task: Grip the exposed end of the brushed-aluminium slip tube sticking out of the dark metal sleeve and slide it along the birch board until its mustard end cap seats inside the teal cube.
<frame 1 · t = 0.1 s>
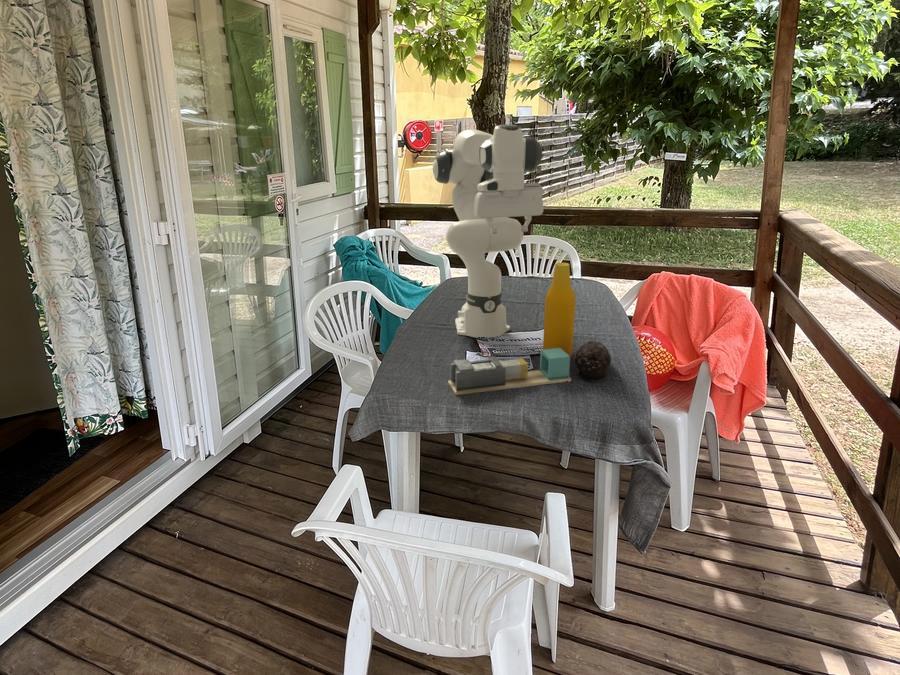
hand: (509, 232, 184), 39 cm above the table, tool pointing down, fingers open, 8 cm apart
slip tube: (491, 371, 176), point 4 cm above the table, slide at 0.0 cm
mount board: (509, 382, 179), on the table
beer bottle: (557, 354, 199), on the table
teal cube: (553, 376, 182), resting on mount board
pine cone: (590, 372, 186), on the table
sleeve: (477, 385, 177), resting on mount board
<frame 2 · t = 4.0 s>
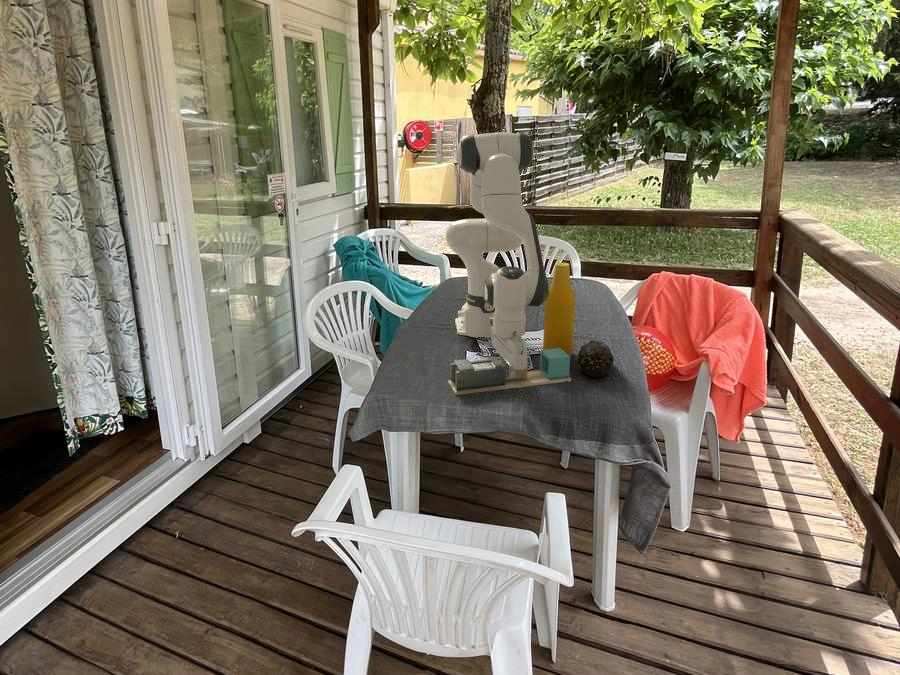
hand: (508, 372, 178), 3 cm above the table, tool pointing down, fingers closed on slip tube, 4 cm apart
slip tube: (491, 371, 176), point 4 cm above the table, slide at 0.0 cm, touching gripper
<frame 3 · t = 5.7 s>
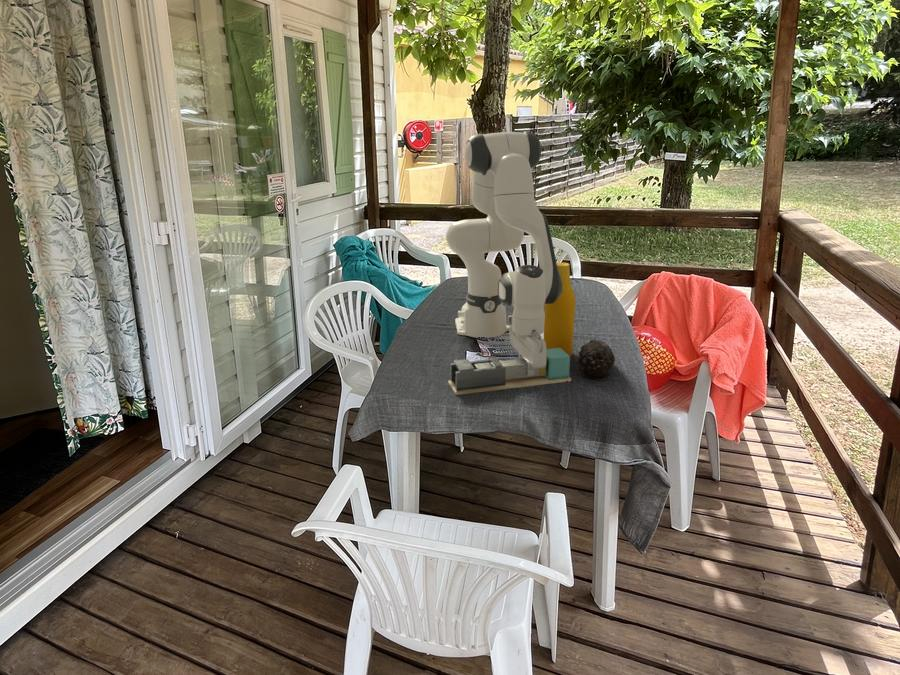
hand: (526, 370, 179), 3 cm above the table, tool pointing down, fingers closed on slip tube, 4 cm apart
slip tube: (509, 369, 178), point 4 cm above the table, slide at 5.5 cm, touching gripper
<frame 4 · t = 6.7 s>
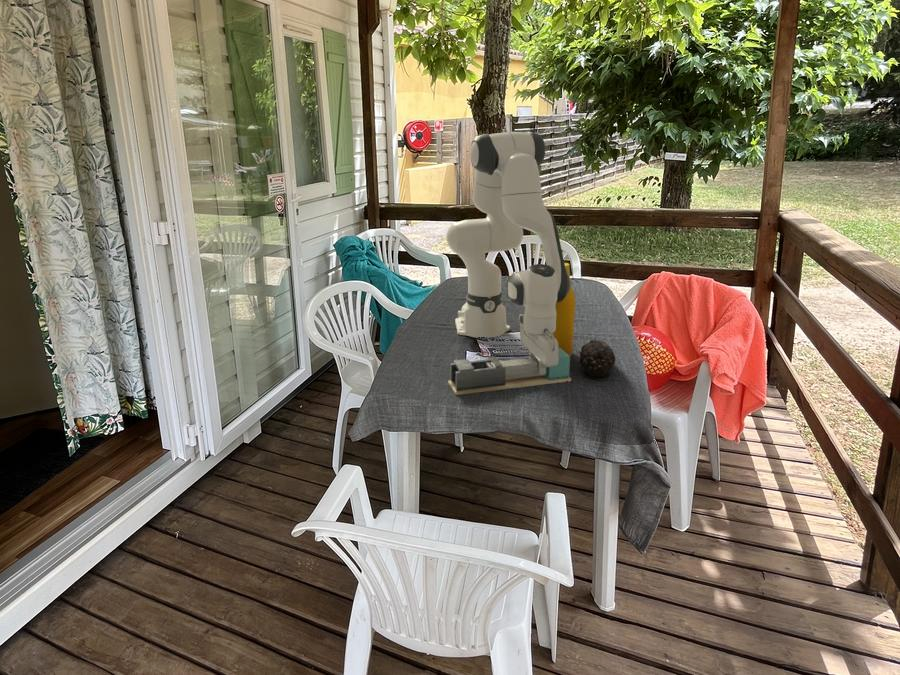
hand: (537, 369, 180), 3 cm above the table, tool pointing down, fingers closed on slip tube, 4 cm apart
slip tube: (521, 368, 178), point 4 cm above the table, slide at 8.9 cm, touching gripper
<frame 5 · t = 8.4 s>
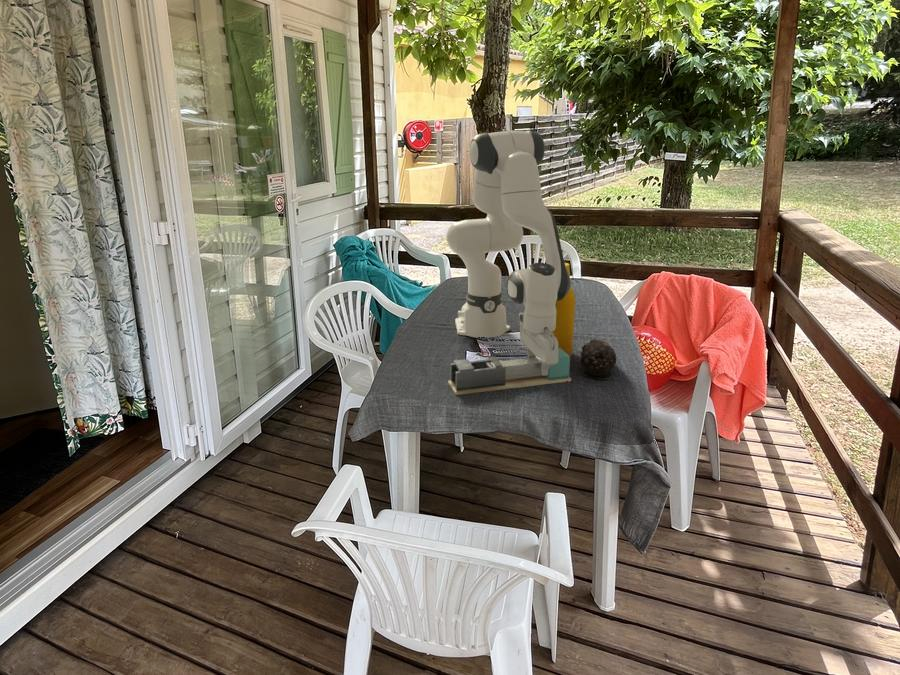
hand: (537, 368, 180), 3 cm above the table, tool pointing down, fingers open, 8 cm apart
slip tube: (521, 368, 178), point 4 cm above the table, slide at 9.0 cm
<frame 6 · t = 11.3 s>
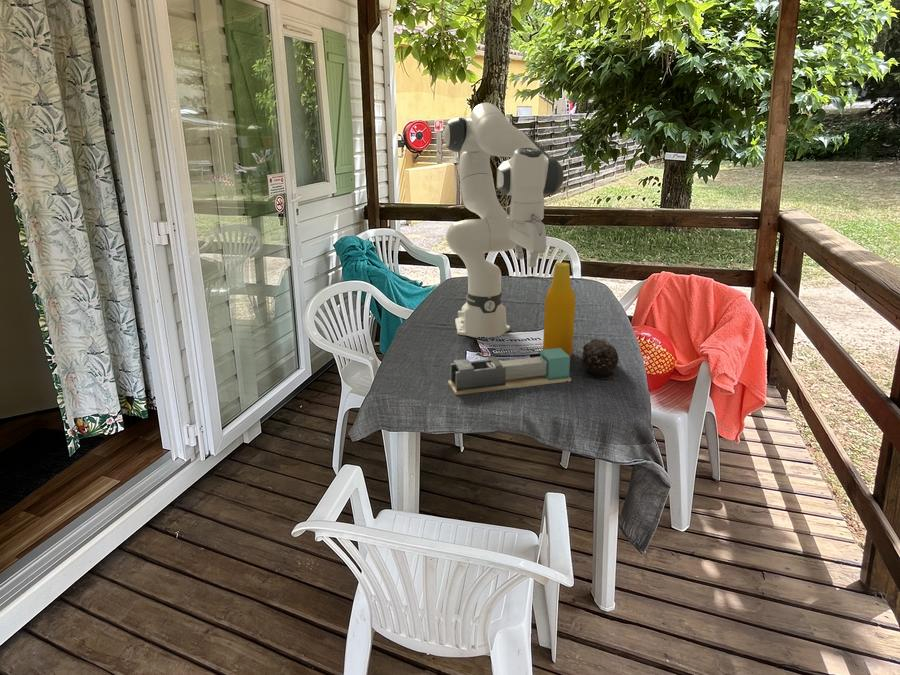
hand: (525, 262, 173), 33 cm above the table, tool pointing down, fingers open, 8 cm apart
at the end: slip tube slide at 9.0 cm; the gripper is holding nothing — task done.
